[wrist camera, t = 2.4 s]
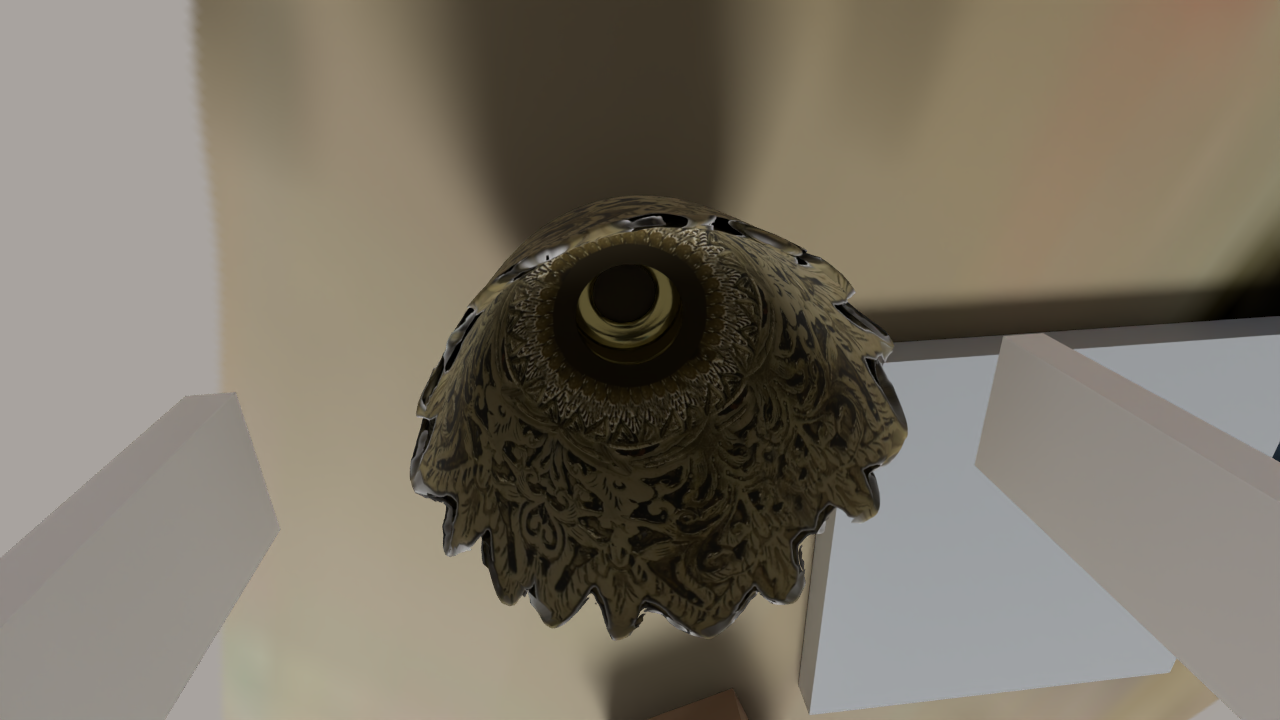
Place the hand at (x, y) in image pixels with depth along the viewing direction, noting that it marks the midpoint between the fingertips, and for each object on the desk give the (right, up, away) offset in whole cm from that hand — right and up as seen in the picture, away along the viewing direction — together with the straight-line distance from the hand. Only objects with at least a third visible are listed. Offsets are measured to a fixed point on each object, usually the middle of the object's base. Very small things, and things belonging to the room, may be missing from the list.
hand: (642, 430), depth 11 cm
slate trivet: (+13, -4, +10) cm, 17 cm away
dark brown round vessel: (-1, +3, +6) cm, 6 cm away
